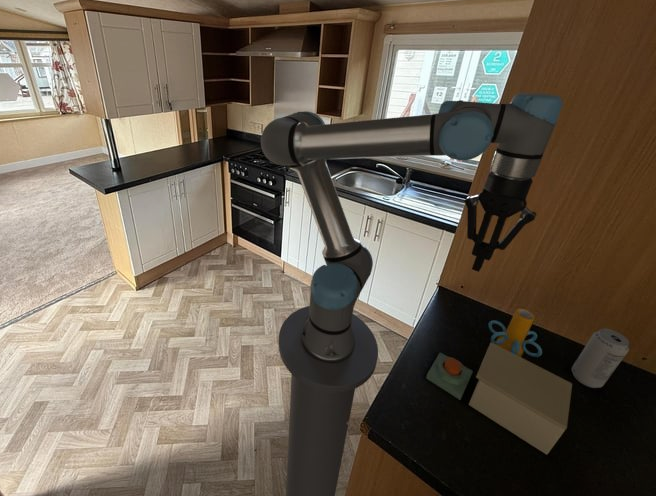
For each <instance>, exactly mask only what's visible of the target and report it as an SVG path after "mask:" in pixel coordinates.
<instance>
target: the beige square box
mask: <svg viewBox="0 0 656 496" xmlns="http://www.w3.org/2000/svg"><path fill="white" fill-rule="evenodd" d="M468 406H470V407H471V408H473V409H474V410H476V411H478V413H480V414H482V415H484V416H486V417H487V418H488V419H490V420H492V421H493V422H495V423H496V424H498V425H499V426H501V427H503V428H504V429H506V430H507V431H509V432H510V433H512V434H513V435H515V436H517V438H519V439H522V440H523V441H525V442H526V443H527V444H529V445H531V446H532V447H533V448H535V449H537V450H538V451H540V452H542V453H543V454H545V455H546V456H547V455H548V454H550V452H551V450H552V449H554V448H553V447H554V446H555V445H556V444H557V442H558V441H559V439H560V438H561V437H562V436H563V434H564V433H565V431H566V430H564V429H562V428H561V427H559V426H557V425H556V424H554V423H552V422H551V421H549V420H547V419H545V418H544V417H542V416H540V415H539V414H537V413H535V412H534V411H532V410H530V409H528V408H527V407H525V406H523V405H522V404H520V403H518V402H517V401H515V400H513V399H512V398H510V397H508V396H506V395H505V394H503V393H501V392H500V391H498V390H496V389H495V388H493V387H491V386H489V385H488V384H486V383H484V382H483V381H481V380H479V379H477V382H476V385H475V388H474V390H473V393H472V395H471V397H470V400H469V402H468Z"/></svg>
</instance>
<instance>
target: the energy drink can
mask: <svg viewBox="0 0 656 496" xmlns="http://www.w3.org/2000/svg"><path fill="white" fill-rule="evenodd" d="M629 344H630V341H629V340H628V339H627V337H625V336H624V335H623V334H621V333H620V332H618V331H616V330H613V329H610V328H601V329H599V330H598V331H594V332H593V334H592V335H591V337H590V338H589V340H588V341H587V343H586V344H585V346H584V348H582V351H581V353H580V354H579V355H578V357H577V359H576V360H575V362H574V363H573V364H572V366H571V372H572V375H573V377H574V378H575V380H577V382H578V383H580V384H582V385H583V386H585V387H589V388H592V389H598V388H600V389H601V388H603V387H604V385H606V383H607V382H608V380H609V379H610V377H611V376H612V375H613V373H614V372H615V370H616V369H617V368H618V366H619V365H620V364H621V362H622V361H623V360H624V358H625V357H626V356H627V354H628V353H629V351H630V348H629Z"/></svg>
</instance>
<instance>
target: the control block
mask: <svg viewBox="0 0 656 496" xmlns="http://www.w3.org/2000/svg"><path fill="white" fill-rule="evenodd" d="M447 358H453V359H455V360H457V361H458V362H459V363H460V364H461V366H462V369H461V371H460V373H459V375H452V374H450V373H448V372H447V371H446V370H445V368H444V363H445V361H446V359H447ZM472 375H473V370H472V369H470V368H469V367H466V366H465V365H464V364H463V363H462V362H461V361H459V360H458V359H456V358H454V357H450V356H447V355H445V354H444V353H442V352H439V353H438V355H437V357H436V358H435V360H434V361H433V363H432V365H431V366H430V369H429V370H428V372H427V374H426V377H425V379H427V380H428V381H429V382H431V383H433V384H435V385H436V386H437V387H439V388H440V389H442V390H443V391H445V392H447V393H448V394H450V395H451V396H453V397H454V398H455V399H458V400H459V401H461V399H462V397H463V395H464V393H465V390H466V388H467V386H468V383H469V382H470V379H471V378H472Z"/></svg>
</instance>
